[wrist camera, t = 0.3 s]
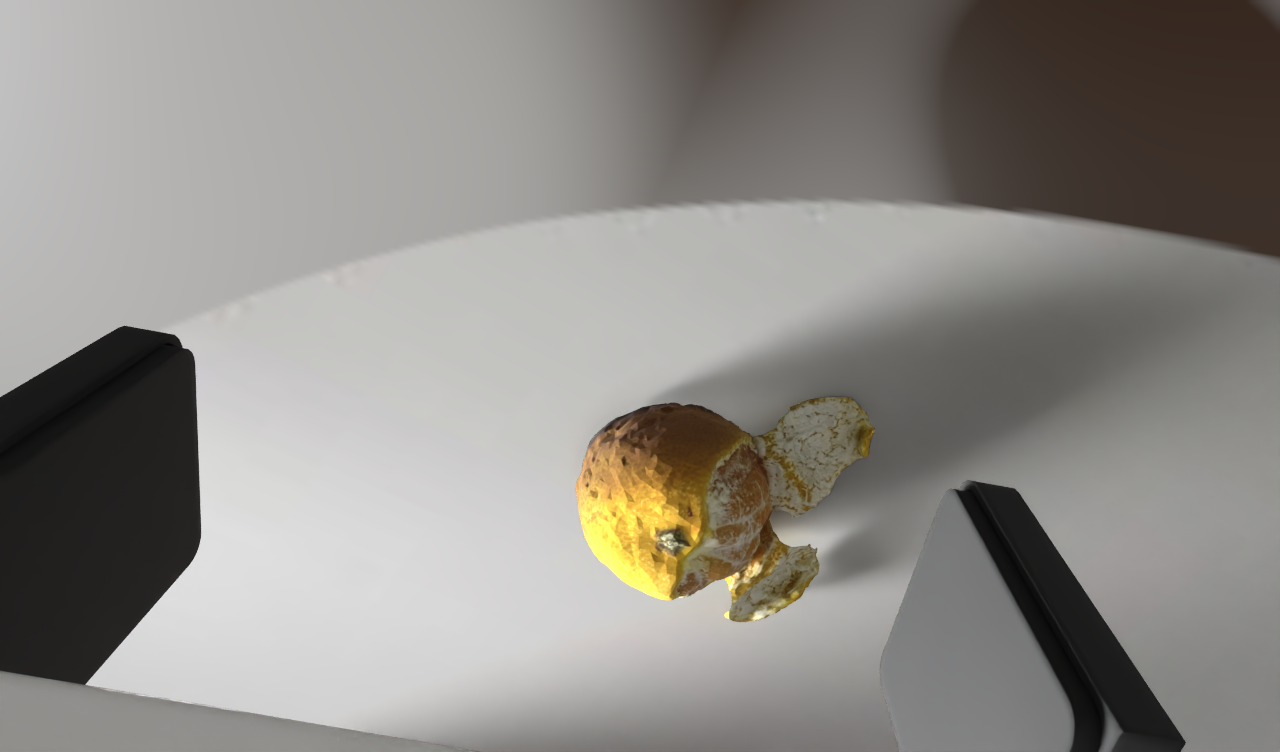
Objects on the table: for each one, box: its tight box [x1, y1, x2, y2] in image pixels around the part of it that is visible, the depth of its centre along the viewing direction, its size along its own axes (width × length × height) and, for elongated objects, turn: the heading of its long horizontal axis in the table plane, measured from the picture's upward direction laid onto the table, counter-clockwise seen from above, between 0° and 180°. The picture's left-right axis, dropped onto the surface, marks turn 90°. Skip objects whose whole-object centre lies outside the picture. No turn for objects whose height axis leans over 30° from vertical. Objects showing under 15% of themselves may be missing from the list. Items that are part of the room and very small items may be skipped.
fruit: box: [575, 397, 875, 622], centre depth 25 cm, size 8×8×4 cm
